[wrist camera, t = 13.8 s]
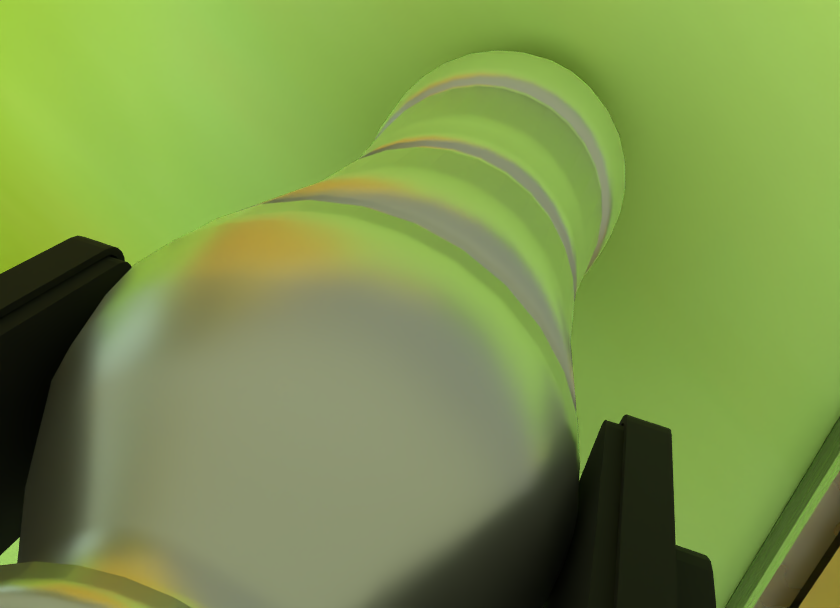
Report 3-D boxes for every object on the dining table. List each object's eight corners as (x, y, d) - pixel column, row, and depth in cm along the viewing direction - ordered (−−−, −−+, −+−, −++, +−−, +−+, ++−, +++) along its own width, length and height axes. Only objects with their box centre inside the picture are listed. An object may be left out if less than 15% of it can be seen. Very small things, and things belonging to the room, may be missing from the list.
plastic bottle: (680, 125, 20) (856, 1281, 3) (535, 307, 24) (208, 1344, 6) (480, -13, 20) (-620, 306, 3) (362, 189, 23) (-464, 911, 6)
